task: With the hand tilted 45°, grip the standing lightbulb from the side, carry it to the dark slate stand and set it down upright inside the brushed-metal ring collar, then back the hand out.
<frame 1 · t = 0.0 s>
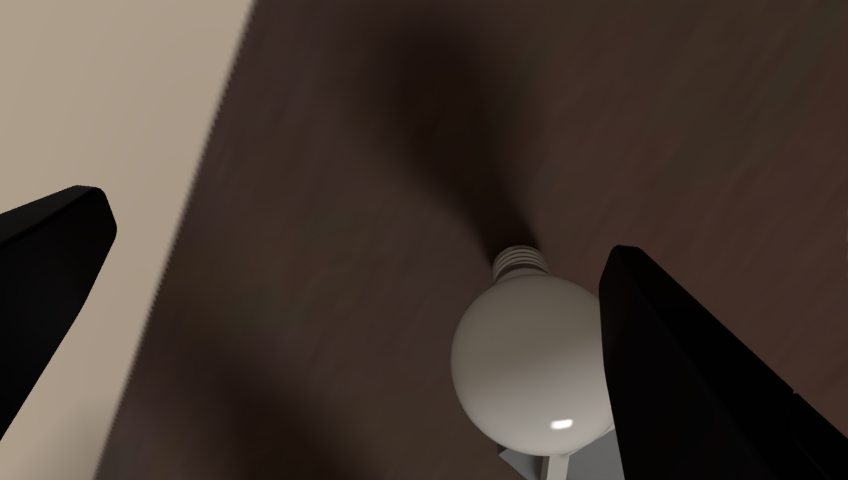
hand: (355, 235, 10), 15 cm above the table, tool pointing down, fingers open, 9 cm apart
bulb stand: (633, 448, 31), on the table
lightbulb: (518, 261, 27), on the table
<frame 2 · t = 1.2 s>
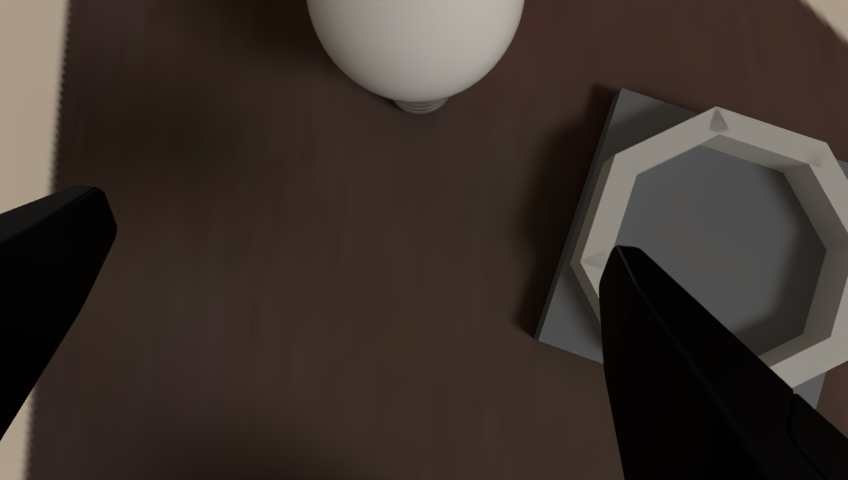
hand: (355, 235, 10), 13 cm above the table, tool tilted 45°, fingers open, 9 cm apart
bulb stand: (699, 258, 23), on the table
lightbulb: (420, 92, 24), on the table
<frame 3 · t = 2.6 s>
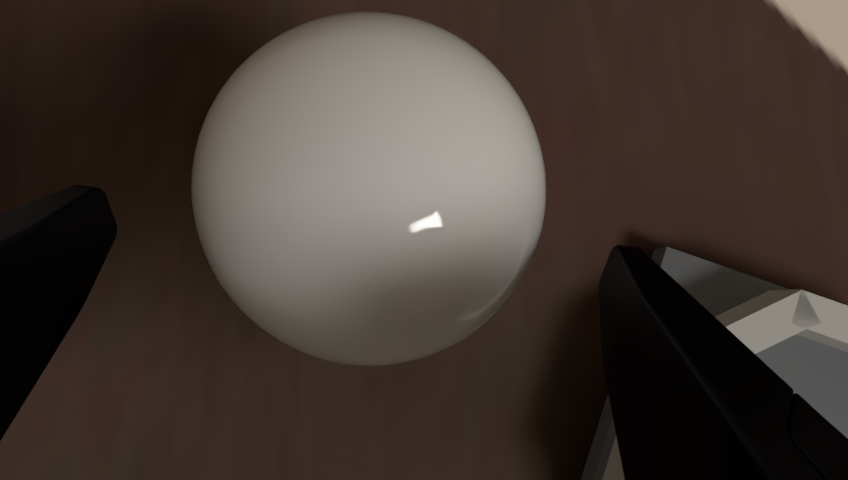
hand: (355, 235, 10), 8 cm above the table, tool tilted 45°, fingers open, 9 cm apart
bulb stand: (770, 472, 17), on the table
lightbulb: (400, 239, 18), on the table
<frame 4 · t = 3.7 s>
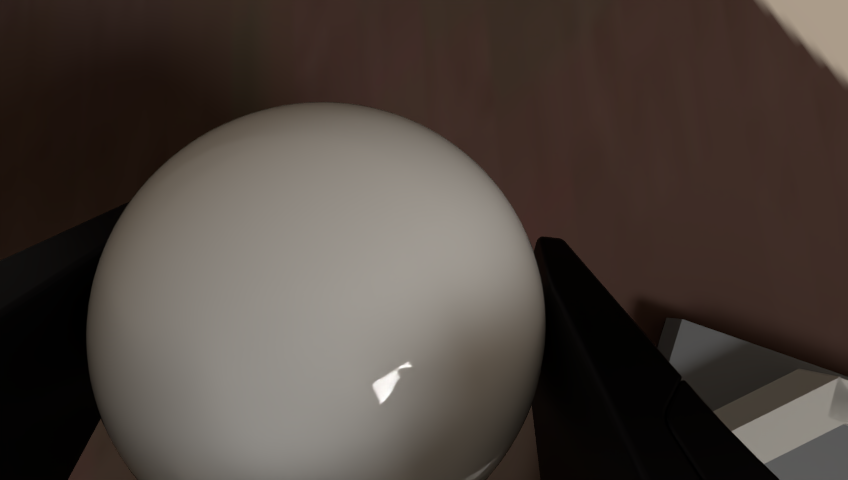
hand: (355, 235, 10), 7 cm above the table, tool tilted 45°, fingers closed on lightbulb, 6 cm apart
lightbulb: (381, 306, 16), on the table, touching gripper
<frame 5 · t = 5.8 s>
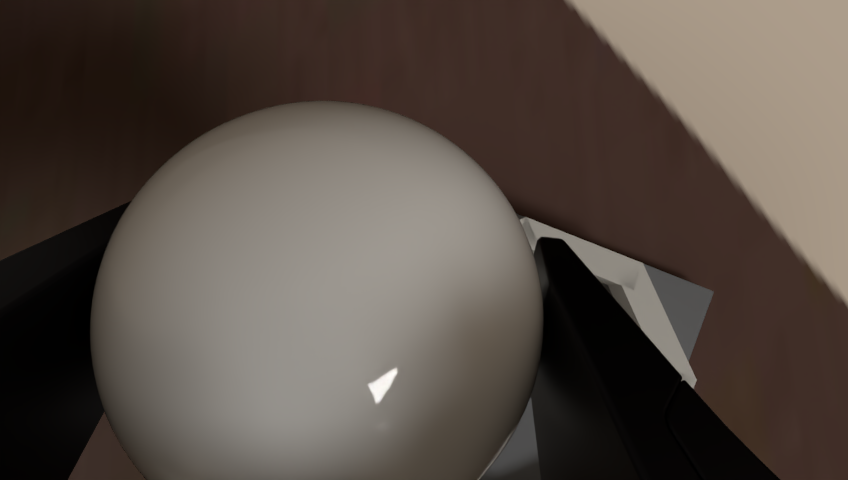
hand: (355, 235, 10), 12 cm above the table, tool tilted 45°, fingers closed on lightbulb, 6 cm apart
bulb stand: (518, 369, 21), on the table
lightbulb: (374, 303, 16), point 5 cm above the table, touching gripper
when the fingers open (8 cm above the table, at t = 8.0 s): lightbulb stays where it is, resting on bulb stand.
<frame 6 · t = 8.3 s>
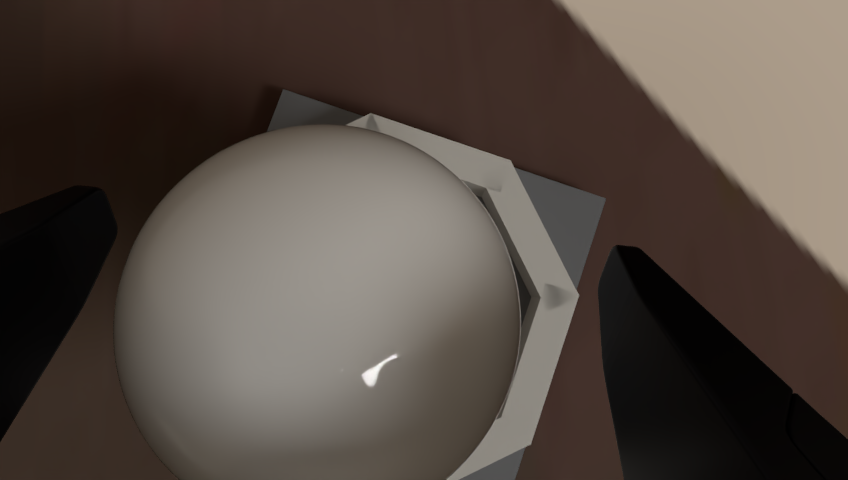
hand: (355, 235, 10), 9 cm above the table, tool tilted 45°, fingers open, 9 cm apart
bulb stand: (387, 304, 18), on the table
lightbulb: (374, 308, 17), point 1 cm above the table, touching bulb stand
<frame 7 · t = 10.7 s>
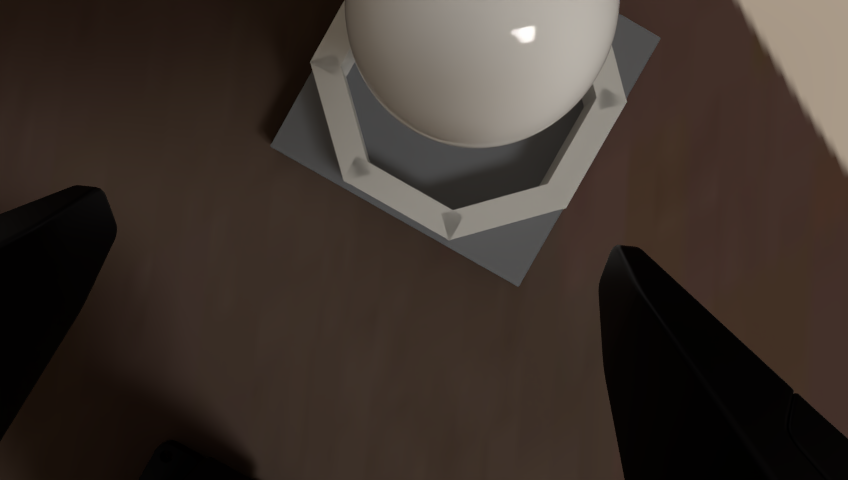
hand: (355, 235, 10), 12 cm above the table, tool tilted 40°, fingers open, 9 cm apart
bulb stand: (463, 98, 22), on the table
lightbulb: (456, 94, 21), point 1 cm above the table, touching bulb stand
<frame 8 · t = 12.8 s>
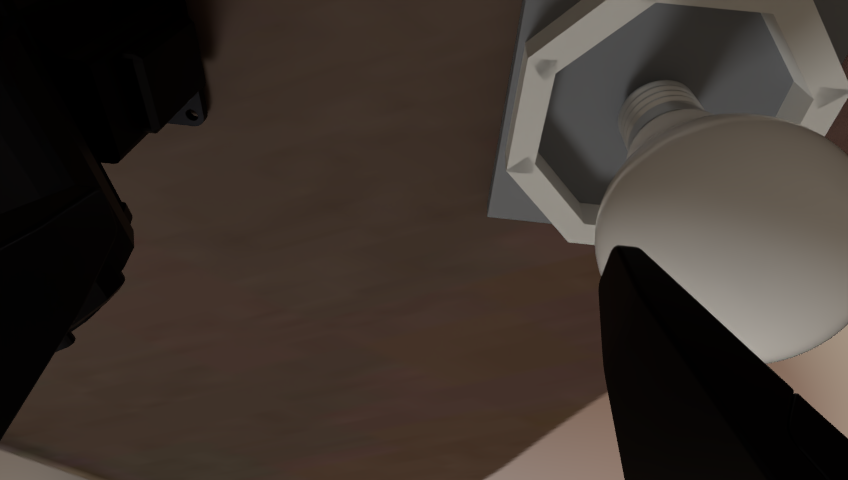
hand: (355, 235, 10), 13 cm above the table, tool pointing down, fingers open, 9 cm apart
bulb stand: (648, 103, 21), on the table
lightbulb: (651, 105, 20), point 1 cm above the table, touching bulb stand
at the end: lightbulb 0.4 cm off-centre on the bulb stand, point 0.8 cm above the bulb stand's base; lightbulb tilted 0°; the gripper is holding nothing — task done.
